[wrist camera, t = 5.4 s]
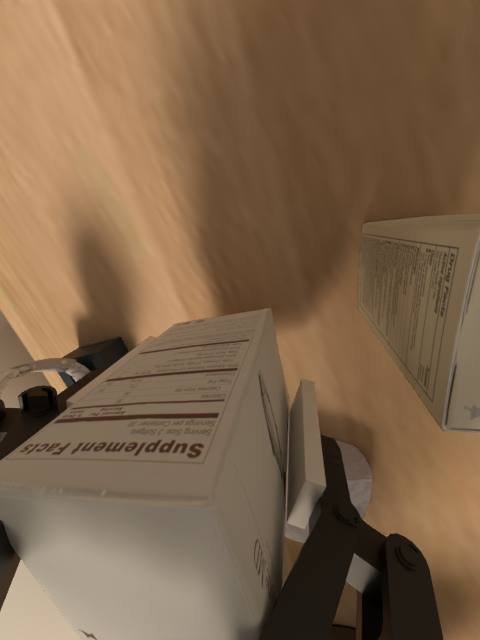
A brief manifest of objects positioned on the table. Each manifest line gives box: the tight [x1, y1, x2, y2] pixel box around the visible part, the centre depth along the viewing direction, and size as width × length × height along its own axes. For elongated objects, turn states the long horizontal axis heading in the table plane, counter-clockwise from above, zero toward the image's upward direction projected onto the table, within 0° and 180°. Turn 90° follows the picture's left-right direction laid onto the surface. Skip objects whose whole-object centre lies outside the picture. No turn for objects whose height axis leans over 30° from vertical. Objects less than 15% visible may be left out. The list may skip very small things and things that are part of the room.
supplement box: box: [0, 308, 290, 640], centre depth 12 cm, size 7×7×13 cm
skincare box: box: [358, 213, 480, 433], centre depth 12 cm, size 6×4×12 cm
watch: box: [0, 337, 129, 396], centre depth 21 cm, size 6×8×11 cm
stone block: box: [285, 439, 373, 543], centre depth 25 cm, size 12×5×10 cm
